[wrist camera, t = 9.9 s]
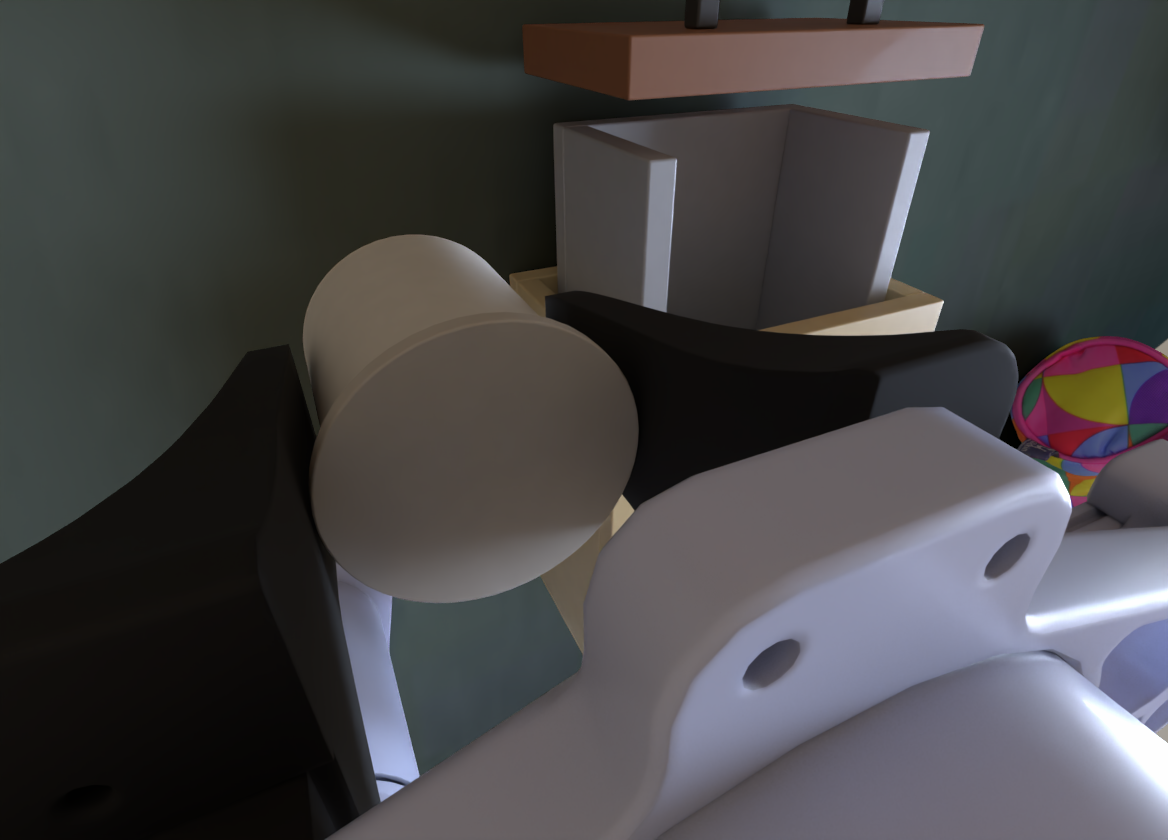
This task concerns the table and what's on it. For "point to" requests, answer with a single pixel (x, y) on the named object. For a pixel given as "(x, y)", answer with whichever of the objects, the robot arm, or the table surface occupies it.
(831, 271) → the drawer
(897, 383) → the robot arm
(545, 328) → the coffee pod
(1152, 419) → the pencil case
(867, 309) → the wooden drawer cabinet
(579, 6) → the table surface
